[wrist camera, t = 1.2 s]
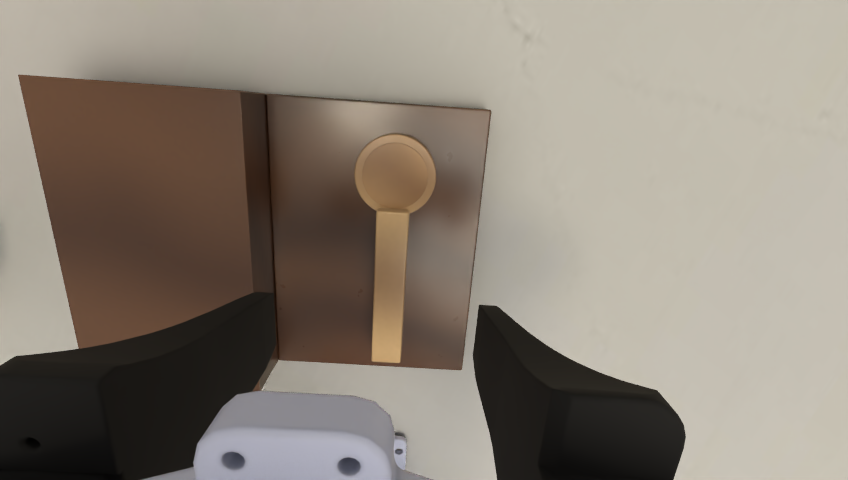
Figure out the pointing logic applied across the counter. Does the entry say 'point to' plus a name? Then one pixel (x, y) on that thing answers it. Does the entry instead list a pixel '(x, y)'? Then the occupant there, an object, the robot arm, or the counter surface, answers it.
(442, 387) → the counter surface
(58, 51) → the counter surface
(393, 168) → the spoon
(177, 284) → the step shelf
